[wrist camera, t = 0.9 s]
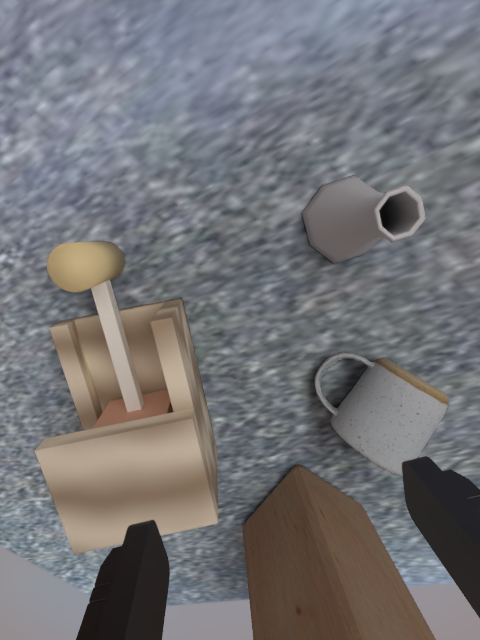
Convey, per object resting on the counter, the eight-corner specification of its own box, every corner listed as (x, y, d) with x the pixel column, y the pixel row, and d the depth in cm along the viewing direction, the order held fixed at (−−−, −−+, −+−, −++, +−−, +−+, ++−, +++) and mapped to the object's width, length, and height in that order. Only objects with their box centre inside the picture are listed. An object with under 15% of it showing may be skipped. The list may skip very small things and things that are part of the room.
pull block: (64, 248, 29) (18, 252, 22) (135, 234, 29) (111, 234, 22) (127, 455, 34) (105, 510, 27) (187, 442, 34) (181, 494, 27)
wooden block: (296, 457, 37) (389, 708, 17) (364, 502, 39) (517, 773, 19) (238, 523, 38) (263, 824, 19) (307, 564, 40) (394, 873, 21)
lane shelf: (61, 320, 31) (-2, 356, 22) (182, 297, 32) (169, 322, 22) (110, 471, 35) (73, 554, 26) (216, 449, 36) (217, 523, 26)
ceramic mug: (423, 376, 35) (478, 413, 28) (378, 440, 37) (419, 492, 29) (337, 328, 34) (371, 353, 26) (294, 397, 35) (314, 440, 28)
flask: (330, 277, 32) (379, 295, 23) (287, 211, 31) (320, 199, 21) (396, 230, 32) (476, 227, 22) (355, 159, 30) (423, 123, 20)
